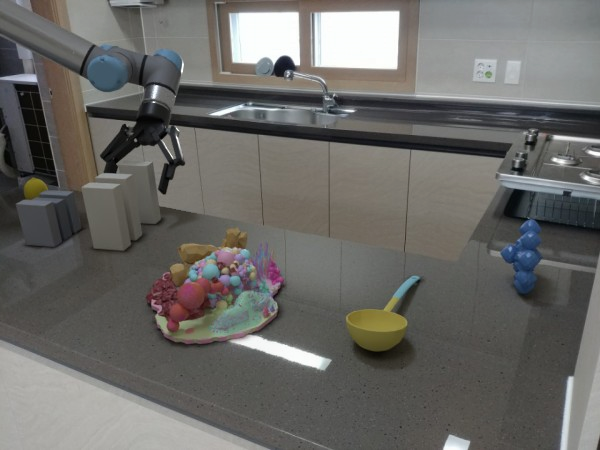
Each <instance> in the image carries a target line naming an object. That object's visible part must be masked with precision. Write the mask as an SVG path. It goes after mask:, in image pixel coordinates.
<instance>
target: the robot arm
mask: <svg viewBox="0 0 600 450" xmlns="http://www.w3.org/2000/svg"><path fill="white" fill-rule="evenodd" d="M0 37H1V38H3V39H6V40H7V41H9V42H12V43H14V44H16V45H18V46H20V47H22V48H23V49H25V50H27V51H30V52H32V53H33V54H35V55H38V56H40V57H42V58H43V59H45V60H48V61H50V62H52V63H55V64H56V65H58V66H60V67H62V68H63V69H66V70H68V71H70V72H72V73H74V74H75V75H78V76H80V77H82V78H83V79H85V80H87V81H89V83H90V84H91V86H92V87H93V88H94V89H95V90H97V91H100V92H103V93H112V92H116V91H119V90H121V89H122V88H123V87H124V86H125V85H126V84H132V85H136V86H140V87H144V89H143V92H142V96H141V99H140V105H138V106H139V107H138V110H137V113H136V119H135V124H134V126H130V125H127V124H126V123H123V124H121V126H120V129H119V131H118V132H117V134H115V136H114V138H113V139H112V140H111V141H110V142H109V143H108V145H106V147H105V148H104V149H103V151H102V152H101V153H100V154H99V158H101V159H102V160H103V161H104V162H105V165H104V169H103V173H112V174H118V173H117V172H118V170H119V167H118V163H120V162H121V161H122V160H123V159H124V158H125V157H126V156H127V155H129V154H130V153H131V152H133V151H134V150H135V149H136V148H137V149H138V148H140V146H142V147H147V146H150V147H155V146H158V148H159V149H160V151H161V153H162V155H163V156H164V158H165V160H166V161H167V162H164V163H163V167H162V170H161V175H160V178H159V183H158V187H157V191H159V192H160V194H162V195H163V196H164V195H165V196H166V195H167V192H168V188H169V184H170V181H173V180H174V177H175V173H176V169H177V168H178V167H184V166H186V160H185V156H184V153H183V149H182V146H181V145H182V144H181V141H180V133H181V132H180V130H179V129H178V127H177V126H176V125H175V124H172V125H171V126H170V123H171V118H172V113H173V110H174V106H175V103H176V98H177V95H178V92H179V89H180V84H181V80H182V76H183V71H184V66H185V64H184V60H183V58H182V56H181V55H180V54H179V53H178V52H176V51H174V50H172V49H169V48H164V49H163V48H159V49H157V50H156V51H155V52H154V54H153V55H150V54H145V53H141V52H137V51H133V50H131V49H130V50H129V49H128V48H127V49H126V48H124V47H120V46H118V45H111V44H106V43H104V44H102V45H100V46H99V45H97V44H96V43H93V41H92V42H91V41H90V40H88V39H86V38H84V37H82V36H80V35H78V34H76V33H74V32H73V31H71V30H68V29H66V28H65V27H63V26H61V25H59V24H57V23H55V22H53V21H51V20H50V19H47V18H46V17H43V16H41V15H40V14H39V13H36V12H34V11H32V10H30V9H28V8H26V7H25V6H22V5H21V4H18V3H16V2H15V1H13V0H0ZM169 126H170V127H169ZM167 136H169V137H170V141H171V144H172V148H173V152H174V156H175V158H174V156H172V154H171V152H170V150H169V149H168V147H167V145H166V144H165V142H164V138H166V137H167ZM135 139H136V141H135Z"/></svg>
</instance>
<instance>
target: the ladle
mask: <svg viewBox="0 0 600 450" xmlns="http://www.w3.org/2000/svg"><path fill="white" fill-rule="evenodd" d="M419 280H421V277H420V276H418V275H412V276H410V277H409V278H408V279H407V280H405V281H404V282H403V283H402V284H401V285H400V286H399V287H398V289H397V290H396V291H395V292H394V294H393V295H392V296H391V299H390V300H389V301H388V303H387V304H386V305H385V307H384V308H383V309H374V308H373V309H371V308H366V309H358V310H354V311H352V312H349V313H348V314H347V315H346V317H345V321H346V328H347V331H348V334H349V337H351V339H352V340H353V341H354V342H355V344H357V345H358V346H359V347H361V348H362V349H364V350H367V351H371V352H384V351H388V350H391V349H392V348H394V347H395V346H397V345H398V344H400V342H402V339H403V338H404V337H405V334H406V332H407V329H408V324H409V323H408V321H407V319H406V317H404V316H402V315H400V314H398V313H396V312H392V311H393V309H394V308H395V307H396V305H397V304H398V302H399V301H400V300H401V299H402V298H403V296H404V295H405V294H406V293H407V292H408V290H409V289H410V288H411V287H412V286H413V285H414V284H415V283H417V282H418V281H419Z"/></svg>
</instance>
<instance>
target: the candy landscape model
mask: <svg viewBox="0 0 600 450" xmlns="http://www.w3.org/2000/svg"><path fill="white" fill-rule="evenodd" d="M247 242H248V231H244V232H241V230H240V229H239V228H238V227H233V228H229V229H227V230H225V238H222V243H221V246H219V247H216V246H214V245H212V244H198V243H193V242H192V243H183V244H182V245H180V246H179V247H178V248H177V249H176V251H177V253H178V255H179V257H180V260H181V261H179V262H178V263H174V264H172V265H170V267H169V272H164V273H163V274H162V276H161V278H157V279H156V280H155V281H154V282H153V283H152V288H151V289H150V290H149V292H148V293H147V294H146V295H145V300H146V301H147V303H148V304H150V305H151V310H154V311H156V312H157V313H156V314H155V315H154V320H155V322H156V327H157V328H158V329H160V331H161V333H162V334H163V337H164V338H166V339H167V340H168V339H169V340H170V341H173V342H174V343H183V344H185V345H191V344H198V345H203V344H211V343H213V342H226V341H228V340H232V339H239V338H240V339H241V338H244V337H245V336H247V335H248V334H252V333H254V332H259V331H260V330H262V329H263V328H265V326H266V325H268V324H269V323H270V322H272V321H273V320H274V319H275V318H276V317H278V312H279V306H278V303H277V301H275V300H274V296H275V295H276V294H277V293H278V290H280V289H281V285H283V284H284V282H285V279H284V278H283V277H281V275H280V274H281V269H280V268H278V263H276V262H275V261H274V259H275V251H274V250H273V249H272V250H271V253H270V252H268V251H269V243H268V242H267V241H265V247H264V250H263V249H262V247H263V244H262V240H260V241H259V244H258V249H257V251H258V252H257V251H255V255H253V257H252V254H251V252H250V248H248V249H246V248H247Z"/></svg>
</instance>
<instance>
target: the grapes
mask: <svg viewBox="0 0 600 450" xmlns="http://www.w3.org/2000/svg"><path fill="white" fill-rule="evenodd" d="M518 231H519V233H520V234H521V235H520V237H519V238H518V239H517V240H516V241H515V242H514V243H515V245H514V244H508V245H506V246H505V247H504V248H503V249H502V250H501V251H500V252H499V254H500V256H501V257H502V259H503V261H504V262H505V263H507V264H509V265H511V264H512V269H513V271H514V272H515V274H514V275H513V279H514V282H513V285H514V287H515V288H516V290H517V292H519V293H520V294H523V295H526V294H528V293H530V292H531V291H532V290H533V289H534V288H535V287H536V284H535V283H536V282H537V280H538V278H537V276H536V274H535V273H534V271H535V269H536V267H537V266H538V265H539V263H541V260H543V259H544V258H543V257H544V256H543V255H542V254H541V252H540V251H539V250H538V249H537V248H538V247H539V246H540V245H541V244H542V242H543V241H542V239H541V238H540V236H539V234H540V232H542V228H541V226H540V224H538V222H537V221H536V220H535V219H533V218H530V219H527V220H526V221H524V222H523V224H522V225H520V227H519V228H518Z"/></svg>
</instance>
